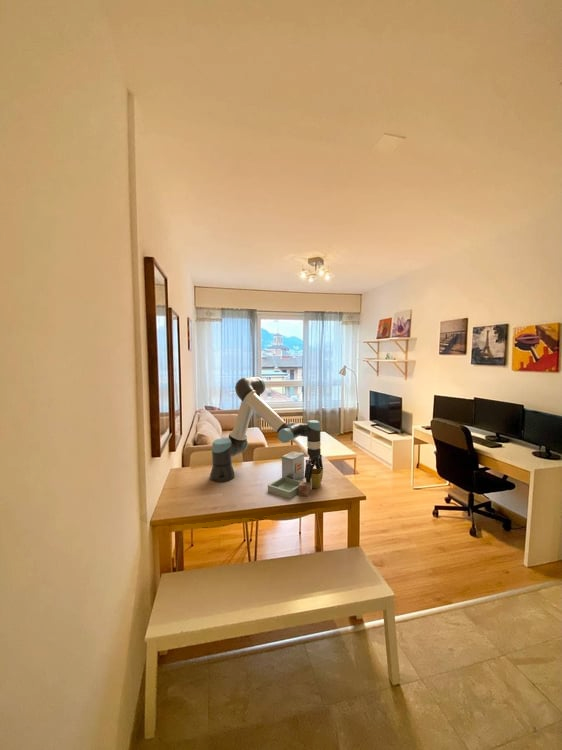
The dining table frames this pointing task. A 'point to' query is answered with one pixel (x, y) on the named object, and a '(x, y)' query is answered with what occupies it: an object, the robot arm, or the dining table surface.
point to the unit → (293, 465)
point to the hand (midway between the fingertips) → (314, 486)
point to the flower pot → (316, 477)
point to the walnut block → (304, 489)
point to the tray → (284, 487)
